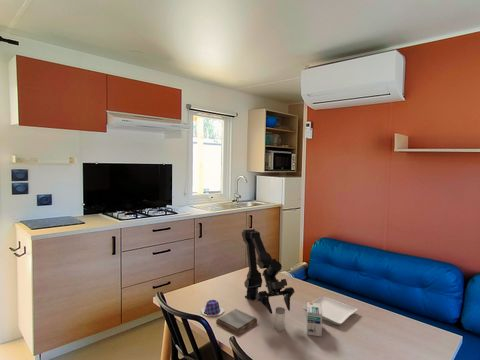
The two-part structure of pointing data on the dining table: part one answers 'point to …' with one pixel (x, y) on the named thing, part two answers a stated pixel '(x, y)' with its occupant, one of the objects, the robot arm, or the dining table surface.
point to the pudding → (212, 308)
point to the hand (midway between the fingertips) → (280, 312)
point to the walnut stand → (236, 321)
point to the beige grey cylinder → (279, 318)
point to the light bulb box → (314, 319)
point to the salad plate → (334, 310)
